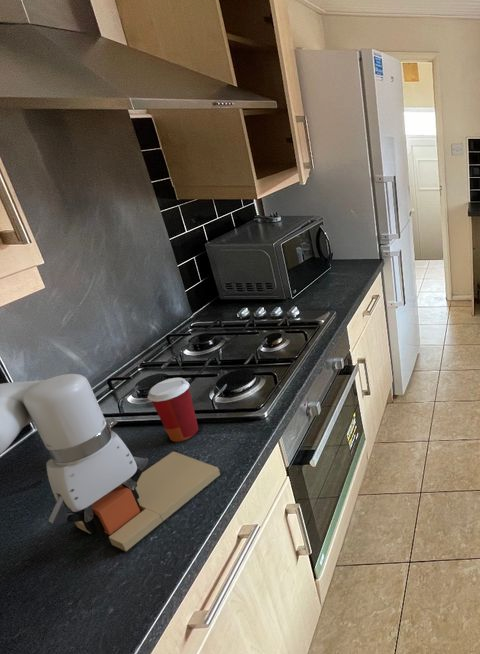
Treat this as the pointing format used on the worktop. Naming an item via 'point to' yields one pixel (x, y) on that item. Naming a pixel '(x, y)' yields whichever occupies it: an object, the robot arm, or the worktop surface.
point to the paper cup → (175, 408)
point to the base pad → (162, 495)
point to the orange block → (116, 509)
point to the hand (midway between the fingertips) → (115, 516)
